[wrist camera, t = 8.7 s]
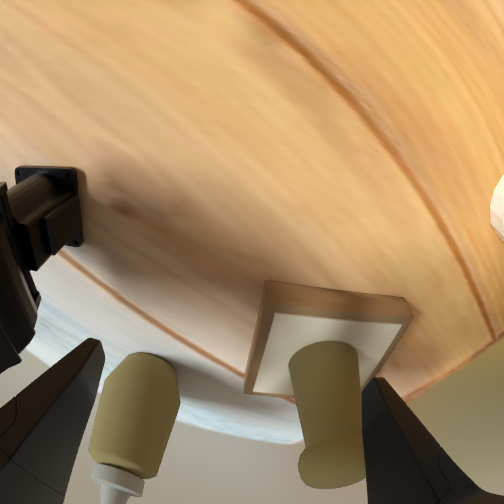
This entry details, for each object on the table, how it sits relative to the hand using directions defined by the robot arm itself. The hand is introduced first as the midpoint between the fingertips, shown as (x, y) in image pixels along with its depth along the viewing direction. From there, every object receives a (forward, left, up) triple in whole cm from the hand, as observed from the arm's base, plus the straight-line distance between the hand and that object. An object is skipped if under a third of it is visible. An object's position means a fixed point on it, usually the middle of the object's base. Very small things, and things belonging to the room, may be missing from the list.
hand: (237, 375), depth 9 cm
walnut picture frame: (+8, -12, -13) cm, 19 cm away
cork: (+8, -12, -10) cm, 17 cm away
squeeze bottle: (-8, -20, -13) cm, 25 cm away
